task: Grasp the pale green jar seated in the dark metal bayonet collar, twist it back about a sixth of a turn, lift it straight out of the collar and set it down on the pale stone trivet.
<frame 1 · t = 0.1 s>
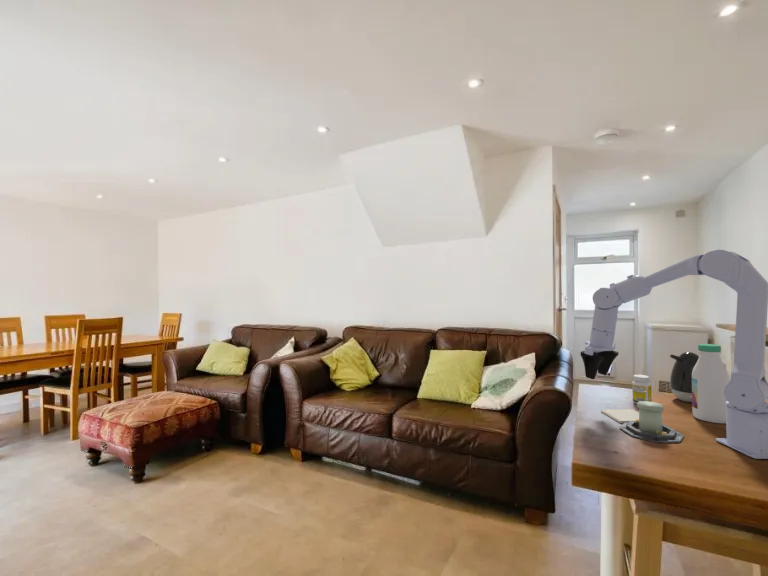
hand: (596, 376, 105), 11 cm above the table, tool pointing down, fingers open, 7 cm apart
bayonet collar: (650, 432, 89), on the table
trivet: (626, 417, 100), on the table
supplement bottle: (642, 403, 112), on the table
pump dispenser: (690, 401, 113), on the table
milk bottle: (711, 419, 98), on the table
pale green jar: (650, 418, 90), in the bayonet collar
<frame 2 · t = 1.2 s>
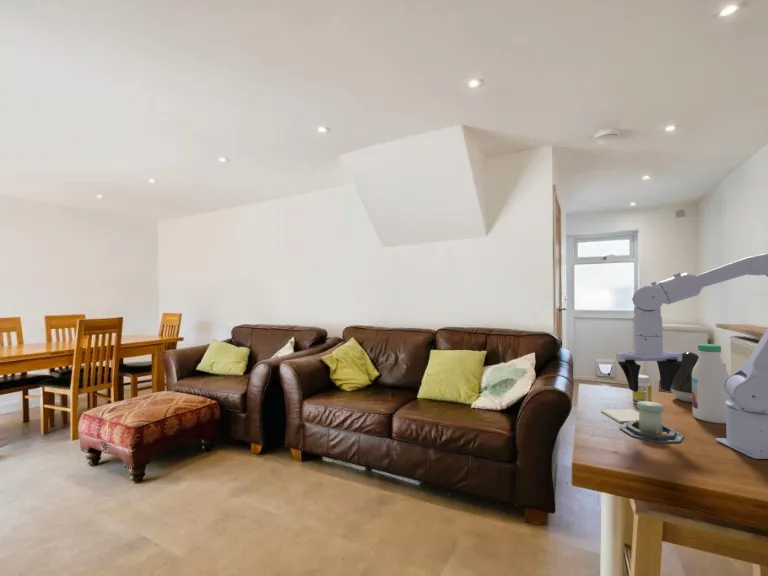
hand: (649, 390, 90), 10 cm above the table, tool pointing down, fingers open, 7 cm apart
nothing on the table moved.
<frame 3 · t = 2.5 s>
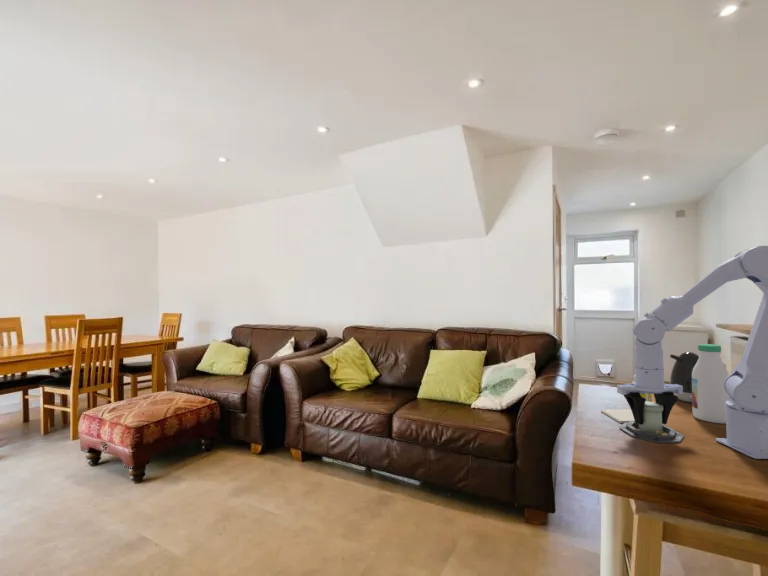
hand: (650, 422, 90), 2 cm above the table, tool pointing down, fingers closed on pale green jar, 5 cm apart
pale green jar: (650, 418, 90), in the bayonet collar, touching gripper
everything else where it was.
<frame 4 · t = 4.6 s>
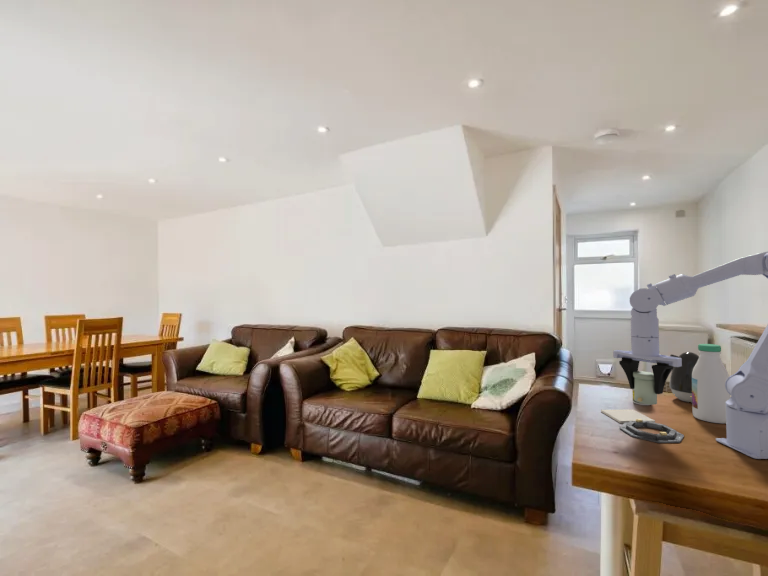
hand: (646, 390, 91), 10 cm above the table, tool pointing down, fingers closed on pale green jar, 5 cm apart
pale green jar: (645, 387, 91), point 11 cm above the table, touching gripper
everything else where it was.
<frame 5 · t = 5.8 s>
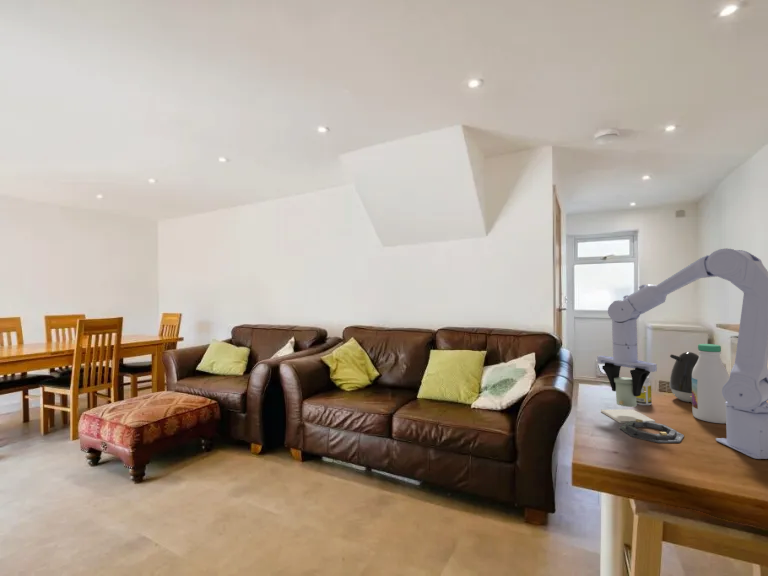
hand: (626, 393, 101), 7 cm above the table, tool pointing down, fingers closed on pale green jar, 5 cm apart
pale green jar: (625, 391, 100), point 7 cm above the table, touching gripper
everything else where it was.
when the fingers open (4 cm above the table, at t = 6.8 s): pale green jar stays where it is, resting on trivet.
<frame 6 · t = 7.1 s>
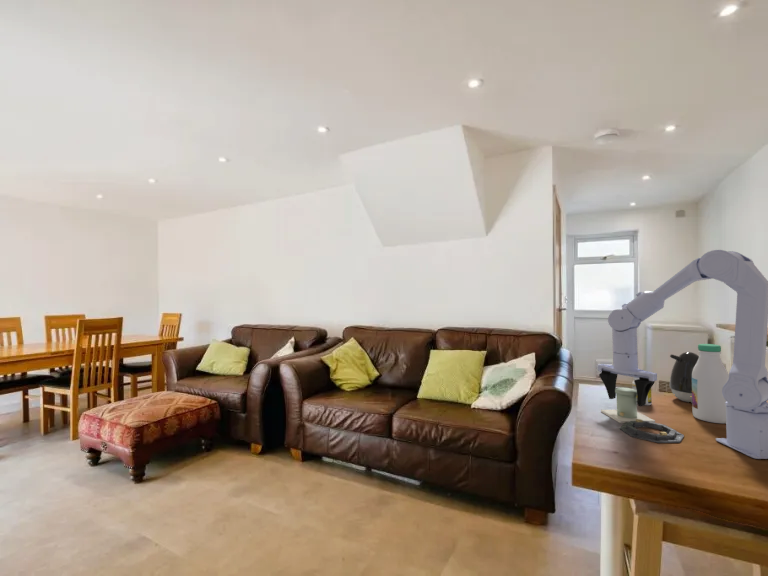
hand: (626, 401, 100), 4 cm above the table, tool pointing down, fingers open, 7 cm apart
pale green jar: (626, 402, 100), on the trivet, point 4 cm above the table
everything else where it was.
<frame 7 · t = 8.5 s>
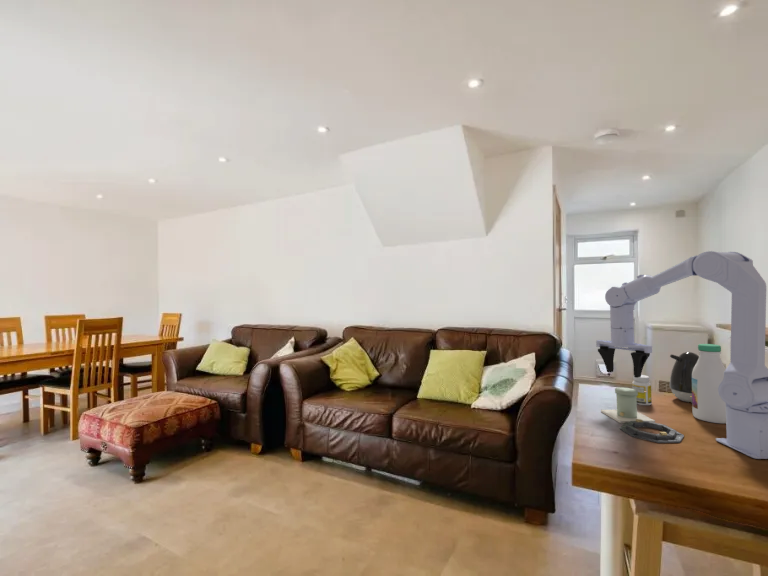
hand: (623, 374, 106), 10 cm above the table, tool pointing down, fingers open, 7 cm apart
nothing on the table moved.
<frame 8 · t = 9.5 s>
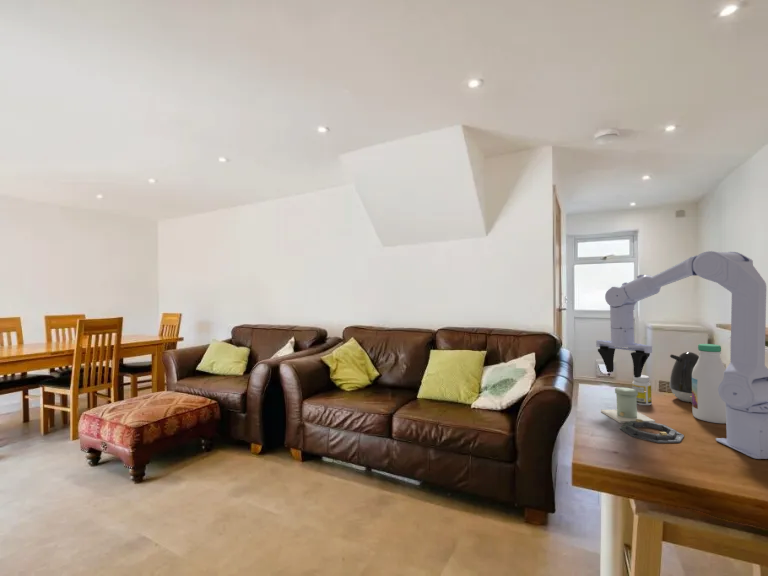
hand: (623, 374, 106), 10 cm above the table, tool pointing down, fingers open, 7 cm apart
nothing on the table moved.
at the end: pale green jar inside the target area on the trivet (0.4 cm from its centre), point 4.1 cm above the trivet's base; pale green jar tilted 0°; the gripper is holding nothing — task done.
